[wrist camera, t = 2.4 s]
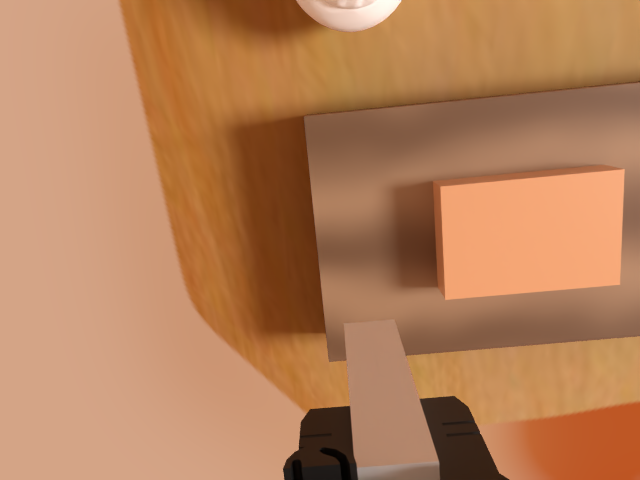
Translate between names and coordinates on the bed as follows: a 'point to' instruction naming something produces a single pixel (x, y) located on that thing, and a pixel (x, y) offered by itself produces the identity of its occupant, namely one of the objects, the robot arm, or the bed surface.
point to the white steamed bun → (349, 13)
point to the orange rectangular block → (529, 231)
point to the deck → (419, 221)
